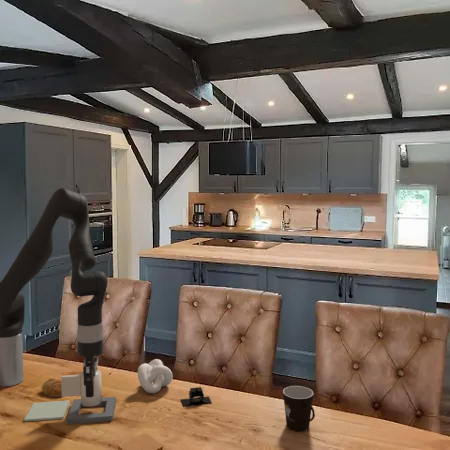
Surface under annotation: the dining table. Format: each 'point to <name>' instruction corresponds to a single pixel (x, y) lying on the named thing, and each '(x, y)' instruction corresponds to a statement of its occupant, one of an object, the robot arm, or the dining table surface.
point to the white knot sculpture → (154, 376)
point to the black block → (195, 401)
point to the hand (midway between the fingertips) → (91, 391)
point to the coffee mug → (298, 407)
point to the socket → (94, 417)
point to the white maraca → (82, 388)
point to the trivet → (47, 411)
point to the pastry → (52, 387)
